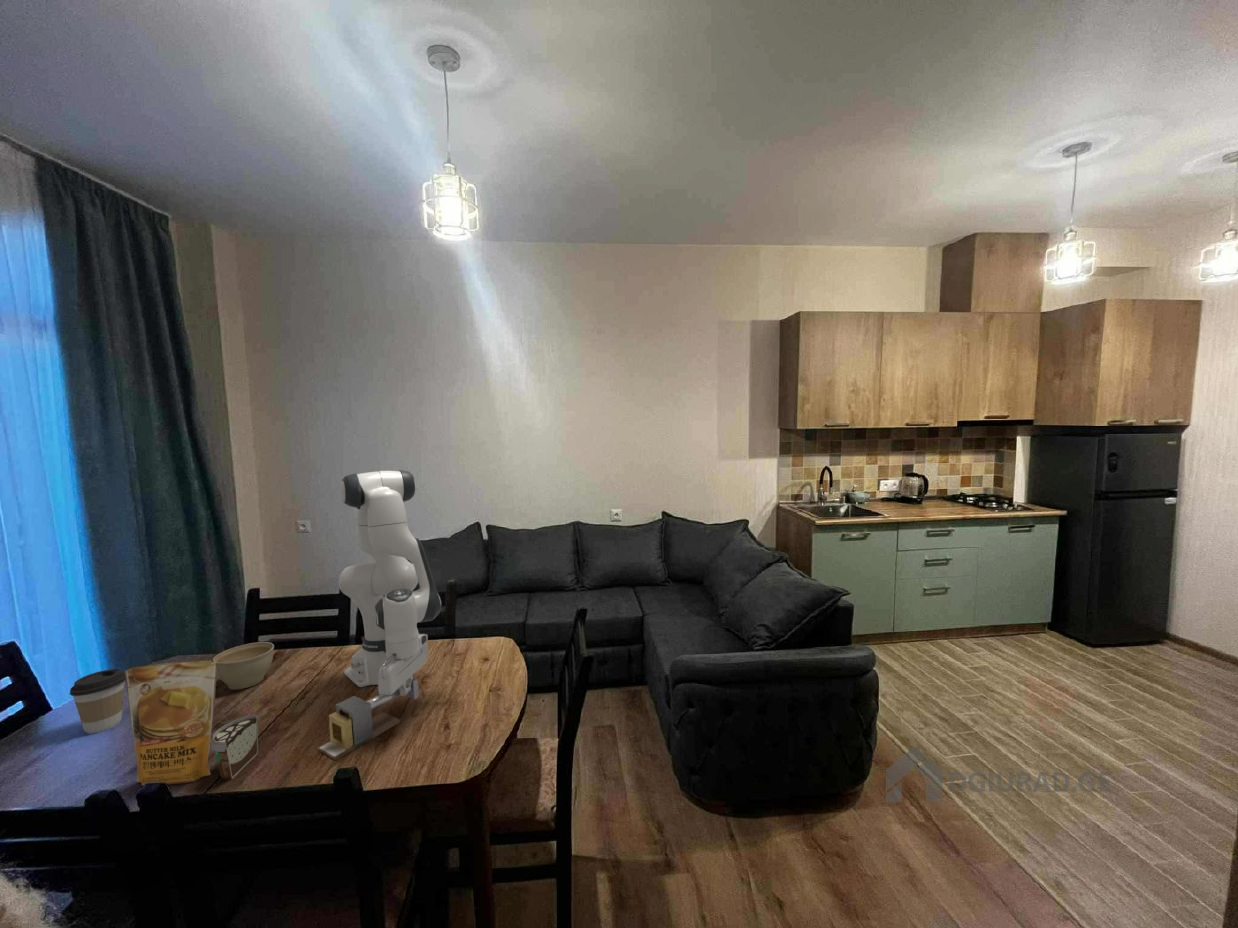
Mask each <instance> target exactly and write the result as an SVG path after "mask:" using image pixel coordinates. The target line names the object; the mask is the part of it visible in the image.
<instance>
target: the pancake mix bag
mask: <svg viewBox="0 0 1238 928" xmlns="http://www.w3.org/2000/svg"><path fill="white" fill-rule="evenodd" d="M123 673H125V677H126V680H125V682H126V692H127V697H128V706H129V708H128V710H129V713H130V714H129V717H130V726H131V730H132V734H133V741H134V749H135V752H136V758H137V764H136V766H137V767H136V768H137V769H136V770H137V776H136V783H141V786H142V787H144V786H143V785H145V784H147V783H151V782H166V783H167V784H168V785H175V784H187V783H194V782H196V781H199V780H200V779H202V778H204V777H207V776H210V775H211V771H210V768H209V766H208V763H209V762H208V761H209V753H210V749H211V740H212V738H211V735H212V730H213V729H212V728H213V718H214V709H215V705H216V689H217V687H216V686H217V680H218V666H217V662H213V659H197V660H191V661H190V660H189V661H178V662H177V661H176V662H175V661H174V662H166V663H157V664H156V663H155V664H147V665H140V666H139V665H138V666H134V667H131V668H128V669H127V670H125V671H123Z"/></svg>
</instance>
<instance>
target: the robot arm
mask: <svg viewBox="0 0 1238 928" xmlns="http://www.w3.org/2000/svg"><path fill="white" fill-rule="evenodd" d="M416 488H417V483H416V480H415V477H414V474H412V473H411V472H410V471H408V470H402V469H401V470H400V469H399V470H378V471H369V472H361V473H352V474H348V475H345V476H344V477H343V478H342V480H341V483H340V486H339V496H340V497H341V499H342V502H343V504H345V505H347V506H348V507H352V508H356V509H357V531H358V532H357V533H358V545H359V548H360V549H361V551H362V552H365V553H366V554H368V555H370V556H371V557H372V558H373V559H374V561H375V562H372V563H371V562H367V563H365V562H363V563H357V564H353V565H350V566H346V567H345V568H344V569H343V570H342V571H341V573H340V575H339V577H338V586H339V587H338V588H339V589H340V591H341V593H342V594H343V595H345V596H347V597H348V598H349V599H350V600H351V601H353V603H355V605H356V606H357V608H358V609H359V611H360V614H361V616H362V617H361V618H362V622H363V623H362V624H363V629H364V635H363V636H361V641H362V646H361V647H360V648H359V650H357V651H356V652H355V653H354V654H353V655H352V657H351V662H350V666H349V667H348V668H346V669H345V670H344V674H343V675H345V676H346V678H348V679H349V680H351V682H353V683H354V684H355V685H356V686H357V687H359V688H365V687H367V686H368V687H369V686H373V685H374V686H375V685H377V690H378V695H392V694H393V693H394V692H395V691H396V690H397V689H399V690H400V696H401V697H404V696H405V695H406V694H407V693H408V692H409V691H410V690H411V683H412V679H413V677H414V674H416V672H417V671H419V670H420V669H421V668H422V667H423V665H425V664H426V663H427V660H428V650H429V649H428V643H427V642H428V638H429V637H428V634H427V633H420V632H419V630H418V627H417V626H418V623H426V622H432V621H434V619H436V618H437V616H438V615H439V614H440V613H441V611H442V600H441V597H440V595H439V592H438V590H437V587H436V584H435V581H434V578H433V574H432V571H431V568H430V563H429V561H428V558H427V554H426V551H425V548H424V546H423V543H422V542H421V540H420V539H419V538H418V537H417V538H416V537H414V535H413V534H412V533H411V531H410V529H409V525H408V517H407V510H406V507H405V502H407V501H410V500H411V499H412V498H413V497H414V496H415V494H416ZM417 585H419V588H418V589H417V590H415V589H416V588H417ZM405 697H406V696H405Z"/></svg>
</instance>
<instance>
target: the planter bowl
mask: <svg viewBox="0 0 1238 928" xmlns="http://www.w3.org/2000/svg"><path fill="white" fill-rule="evenodd" d="M274 649H275V645H274V644H273V643H272V642H268V641H267V642H266V641H261V642H260V641H258V642H251V643H246V644H242V645H239V646H238V645H237V646H235V647H231V648H229V649H226V650H224V651H222V652H220V653H218V654H217V655H215V656H214V657H213V659H212V661H213V662H217V666H218V675H217V677H218V678H219V679H220V681H222V682H223V683H224V684H226V685H227V687H228V689H229V690H243V689H247V688H250V687H254V686H256V685H257V684H260V683H261V682H262V681H264V679H265V675H266V674H267V672H268V671H269V668H270V667H271V665H272V662H273V658H274Z"/></svg>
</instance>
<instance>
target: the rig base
mask: <svg viewBox="0 0 1238 928" xmlns="http://www.w3.org/2000/svg"><path fill="white" fill-rule="evenodd" d="M399 723H401V720H400V719H399V718H397V717H395V716H393V715H390V714H388V713H386V712H384V711H383V712H380V713H379V714H377V715H375V716H372V729H373V738H372V736H371V737H370V738H371V739H370V738H368V739H369V741H371V740H373V739H374V738H376V737H377V736H379V735H381V734H383V733H385V732H386V731H388V730H389V729H392V728H393V727H395V726H397V725H398V724H399ZM369 741H368V740H367V741H366V743H367V742H369ZM364 742H365V740H364ZM360 745H361V746H362V745H363V744H360ZM358 746H359V745H358ZM356 747H357V745H356V746H354V745H353V746H351V747H350V748H348V749H346V750H345V749H343V748H341V747H340V746H338V745H336V744H334V743H333V742H331V741H330V740H329V741H327V742H326V743H323V744H322V745H321V746H319V747H318V751H319V752H321V753H322V754H324V755H326V756H327V757H330V759H332V760H334V761H337V760H339V759H341V758H342V757H343V756H346V755H347V754H349V753H351V752H352V751H354V750H356V749H357V748H358V747H357V748H356ZM359 747H360V746H359Z"/></svg>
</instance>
